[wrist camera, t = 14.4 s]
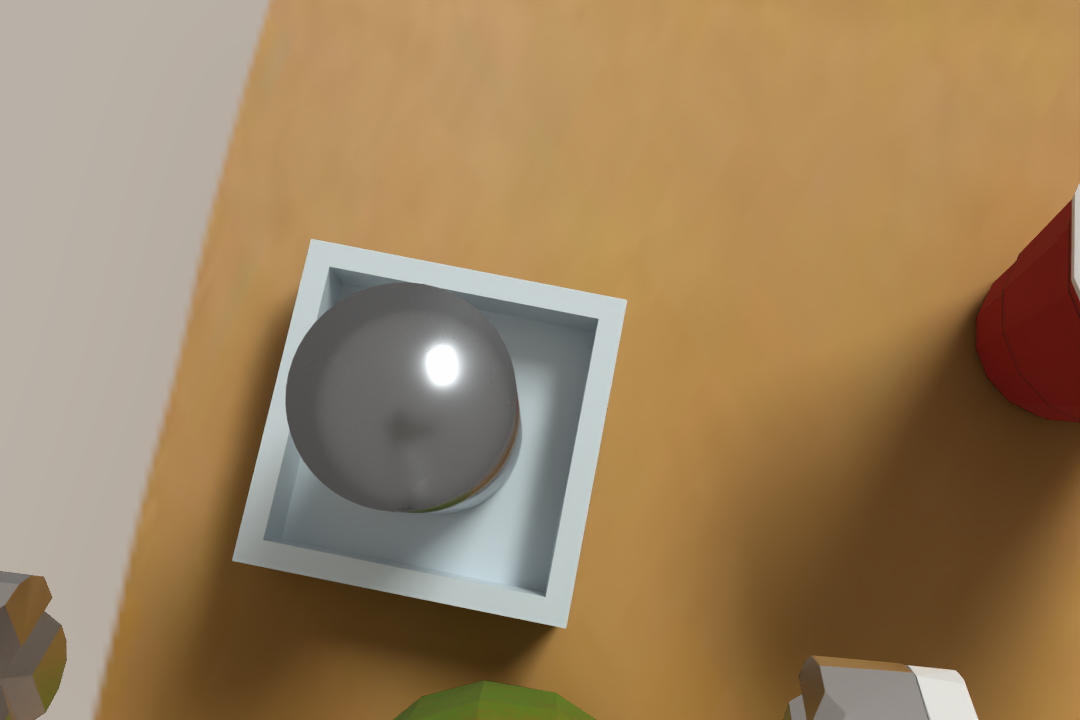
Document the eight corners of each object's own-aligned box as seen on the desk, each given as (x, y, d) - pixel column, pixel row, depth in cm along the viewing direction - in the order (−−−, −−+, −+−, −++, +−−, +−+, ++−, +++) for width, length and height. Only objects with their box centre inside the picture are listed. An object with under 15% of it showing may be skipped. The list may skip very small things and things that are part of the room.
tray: (562, 618, 32) (565, 628, 29) (259, 556, 32) (231, 560, 29) (618, 319, 34) (627, 300, 31) (330, 263, 34) (311, 238, 31)
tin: (506, 527, 32) (493, 530, 22) (346, 498, 32) (262, 489, 22) (535, 368, 33) (535, 303, 23) (379, 341, 33) (312, 264, 23)
